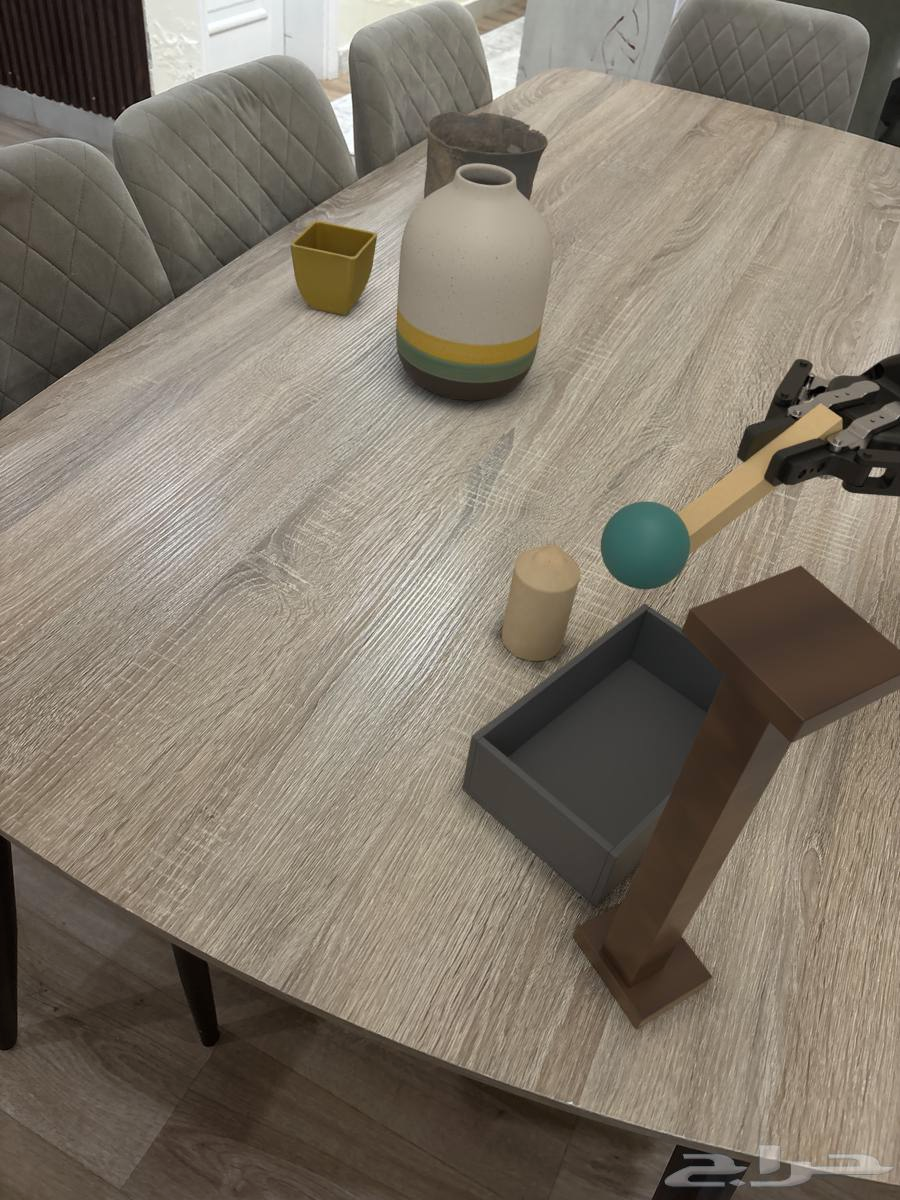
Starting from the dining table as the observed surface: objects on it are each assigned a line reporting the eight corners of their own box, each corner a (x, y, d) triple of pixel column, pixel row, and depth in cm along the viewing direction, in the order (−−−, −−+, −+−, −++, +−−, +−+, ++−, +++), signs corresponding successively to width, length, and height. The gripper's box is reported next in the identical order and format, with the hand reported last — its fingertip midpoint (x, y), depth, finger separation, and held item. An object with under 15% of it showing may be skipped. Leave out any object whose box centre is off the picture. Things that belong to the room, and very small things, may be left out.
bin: (754, 746, 77) (781, 694, 73) (596, 907, 66) (616, 858, 61) (627, 655, 83) (644, 602, 79) (461, 788, 72) (471, 735, 67)
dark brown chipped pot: (541, 223, 151) (557, 123, 141) (522, 268, 138) (538, 162, 128) (434, 203, 153) (442, 103, 142) (405, 245, 140) (412, 139, 130)
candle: (515, 609, 86) (532, 525, 79) (571, 631, 85) (593, 548, 78) (491, 647, 83) (506, 562, 76) (549, 671, 81) (570, 587, 74)
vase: (365, 364, 115) (372, 160, 98) (467, 329, 123) (490, 136, 107) (456, 431, 106) (481, 219, 90) (559, 387, 115) (599, 188, 98)
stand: (706, 986, 62) (919, 664, 40) (624, 1037, 59) (804, 721, 37) (641, 899, 66) (801, 564, 44) (560, 943, 63) (689, 608, 41)
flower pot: (315, 283, 129) (314, 218, 122) (375, 297, 127) (378, 232, 121) (290, 311, 122) (288, 244, 116) (353, 326, 121) (355, 258, 115)
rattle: (864, 451, 56) (864, 395, 52) (645, 620, 56) (628, 578, 52) (801, 406, 59) (797, 350, 55) (594, 567, 59) (574, 522, 55)
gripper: (889, 300, 64) (699, 346, 57) (1067, 403, 56) (872, 472, 49) (847, 394, 70) (668, 448, 62) (1004, 502, 61) (819, 577, 54)
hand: (759, 458), depth 56 cm, fingers closed on rattle
